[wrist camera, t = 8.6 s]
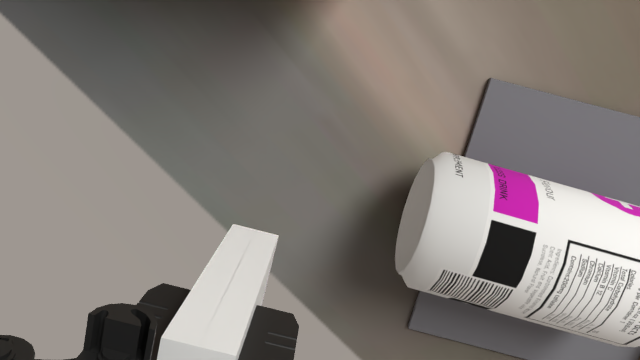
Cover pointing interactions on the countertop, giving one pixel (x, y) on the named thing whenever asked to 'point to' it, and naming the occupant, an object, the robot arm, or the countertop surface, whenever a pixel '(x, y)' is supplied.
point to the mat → (553, 165)
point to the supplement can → (523, 248)
